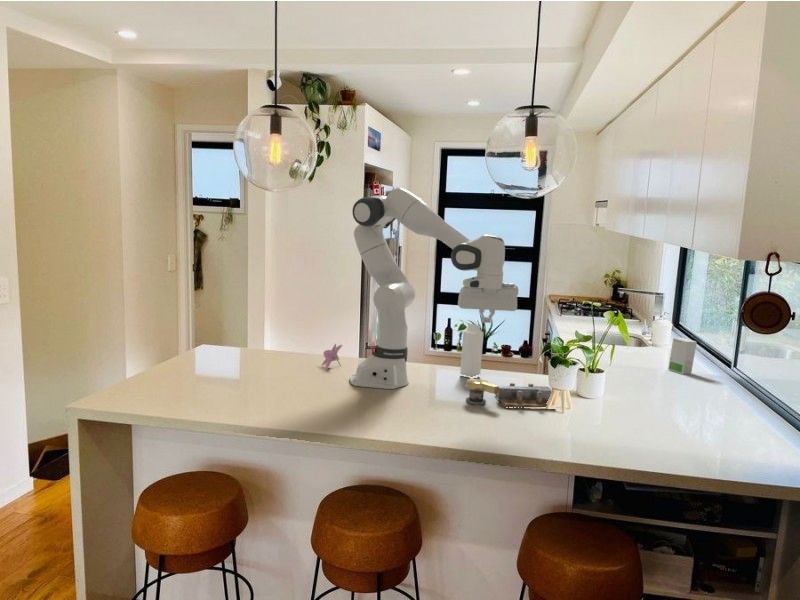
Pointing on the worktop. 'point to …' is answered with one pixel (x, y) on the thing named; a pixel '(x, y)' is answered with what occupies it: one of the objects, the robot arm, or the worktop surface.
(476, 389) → the gold crumpled flat piece
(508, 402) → the peg rack
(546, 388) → the grey rectangular bar
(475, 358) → the milk
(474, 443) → the worktop surface
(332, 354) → the lily
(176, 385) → the worktop surface
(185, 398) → the worktop surface
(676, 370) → the skincare box
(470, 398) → the post
